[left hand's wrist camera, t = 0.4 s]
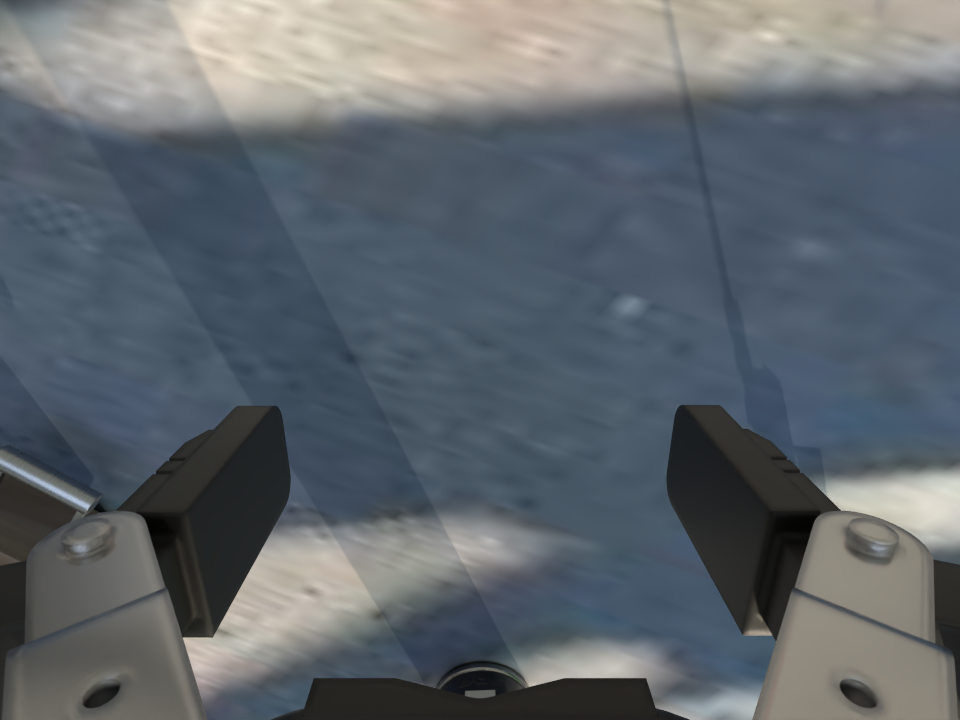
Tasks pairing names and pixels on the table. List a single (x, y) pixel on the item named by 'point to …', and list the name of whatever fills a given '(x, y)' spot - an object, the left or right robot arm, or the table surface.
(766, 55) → the table surface
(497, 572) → the table surface
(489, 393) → the table surface
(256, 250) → the table surface
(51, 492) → the drawer
